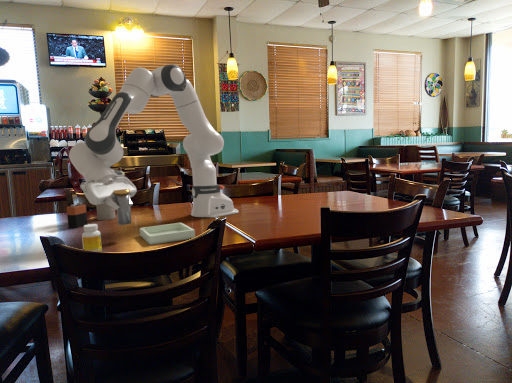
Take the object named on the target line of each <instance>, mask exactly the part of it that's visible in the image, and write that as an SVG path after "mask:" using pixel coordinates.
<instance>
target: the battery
mask: <svg viewBox="0 0 512 383" xmlns="http://www.w3.org/2000/svg"><path fill="white" fill-rule="evenodd" d="M66 214H67V226H68V228H69V229H78V228H82V227H84V225H88V218H87V217H88V216H87V206H86V204H83V203H82V202H76V204H75V203H74V204H70V205H69V206H66Z"/></svg>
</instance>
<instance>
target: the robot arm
mask: <svg viewBox="0 0 512 383" xmlns="http://www.w3.org/2000/svg"><path fill="white" fill-rule="evenodd" d="M166 95H168V96H169V97H171V99H172V102H173V104H174V107H175V111H176V112H177V114H178V117H179V120H180V122H181V124H182V126H184V128H186V129H187V131H188V133H190V134H188V135H187V136H185V137H184V138H183V140H182V147H183V150H184V152H186V154H187V156H188V159H189V162H190V167H191V172H192V189H191V193H192V194H191V195H192V197H193V198H192V199H193V201H192V210H191V214H190V215H191V216H192V217H196V218H217V217H219V218H220V217H223V216H230V215H235V214H238V213H239V210H238V209H237V208H235V207H234V202H233V200H232V199H231V198H230V197H228V196H227V195H226V194H224V193H223V192H221V190H222V191H223V190H224V189H225V186H224V185H219V184H217V169H216V166H215V165H214V163H213V162H212V159H211V156H215V155H217V154H219V153H221V152H222V151H223V149H224V147H225V141H224V138H223V136H222V135H221V134H220V133H219V132H218V131H216V130H215V128H214V127H213V126H212V124H211V123H210V121H209V119H208V118H207V116H206V115H205V111H204V109H203V107H202V104H201V101H200V99H199V96H198V94H197V91H196V90H195V88H194V86H193V84H192V83H191V81H190V80H189V79H187V77H186V75H185V72H184V71H183V70H182V68H181V67H180V66H179V65H177V64H173V63H172V64H171V63H170V64H166V65H164V66H163V65H162V66H160V67H156V68H154V70H151V71H150V70H148V69H147V68H145V67H140V66H139V67H136V68H134V69H132V70H131V71H130V73H129V75H128V76H127V77H126V78H125V80H124V82H123V84H122V86H121V88H120V89H119V92H118V93H116V94H115V95H114V96H113V97H112V99H111V100H110V101H109V103H108V105H107V106H106V107H105V110H104V111H103V112H102V114H101V115H100V117H99V118H98V120H97V121H96V122H95V123H94V124H93V125H92V126H90V128H88V129H87V131H86V133H85V136H84V142H81V141H80V142H77V143H76V144H74V145H73V146H72V147H71V148H70V150H69V151H68V152H69V153H68V157H69V160H70V162H71V164H72V165H73V167H74V168H75V170H76V171H77V172H78V173H79V174H80V175H82V176H83V178H84V180H85V181H82V182H81V183H80V186H79V188H80V189H81V190H82V191H83V194H84V196H85V197H86V198H85V199H87V200H88V202H89V203H90V204H91V205H93V206H96V205H97V204H102V203H106V204H107V205H109V206H111V207H113V208H114V209H115V211H117V210H119V209H120V208H121V206H120V205H119V204H118V203H116V197H115V194H114V192H113V191H114V190H120V189H130V193H129V199H130V208H131V207H132V206H133V204H134V203H133V201H132V200H131V198H132V197H134V196H135V195H136V194H137V192H138V190H137V187H136V185H135V183H133V182H132V180H130V179H129V178H128V177H127V176H125V175H126V174H125V172H124V171H122V170H116V169H113V168H111V167H112V166H114V165H116V164H118V163H120V162H121V160H122V159H123V158H124V152H125V149H124V148H123V146H122V144H121V142H120V141H119V139H118V138H117V134H116V130H117V127H118V126H119V124H120V122H121V121H122V119H123V117H124V115H126V114H130V115H137V114H141V113H142V112H143V111H144V109H146V107H147V104H148V103H149V100H150V97H152V98H159V97H163V96H166ZM108 167H110V168H109V169H108Z"/></svg>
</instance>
